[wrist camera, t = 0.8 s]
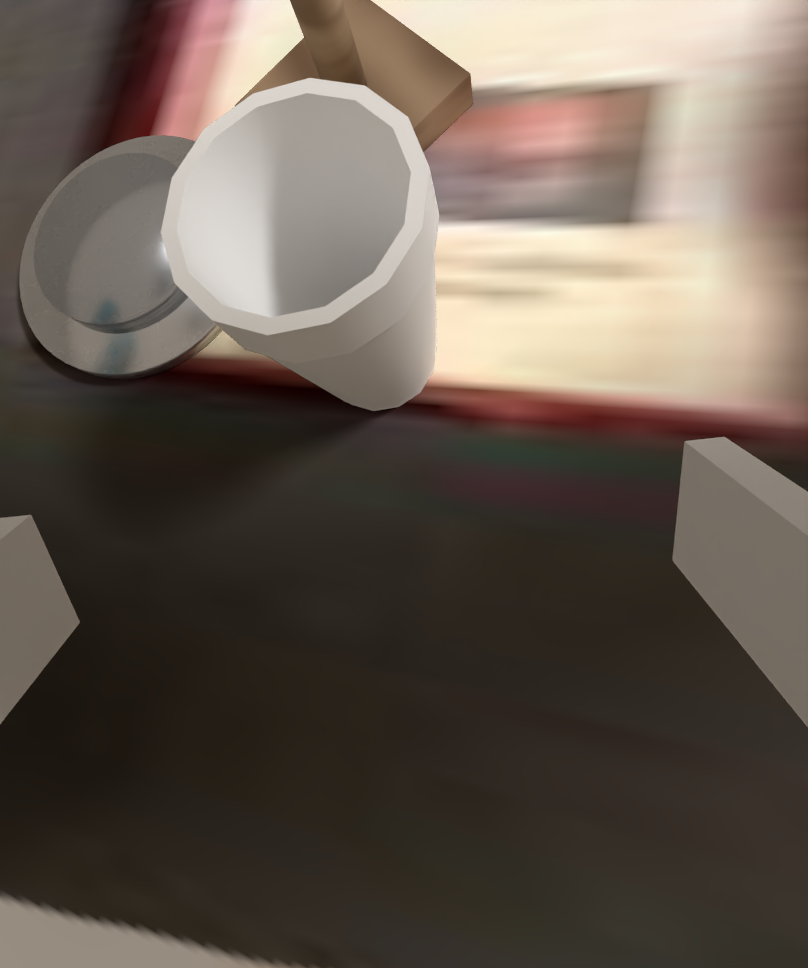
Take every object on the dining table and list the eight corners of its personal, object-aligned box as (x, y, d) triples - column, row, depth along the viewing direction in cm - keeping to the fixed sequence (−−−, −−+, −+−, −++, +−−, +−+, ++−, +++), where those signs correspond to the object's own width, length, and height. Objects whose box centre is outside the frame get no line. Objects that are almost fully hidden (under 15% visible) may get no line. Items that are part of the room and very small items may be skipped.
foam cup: (276, 410, 32) (121, 295, 19) (332, 264, 33) (219, 65, 20) (433, 458, 30) (372, 363, 17) (488, 299, 31) (469, 100, 18)
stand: (363, 20, 36) (289, -253, 24) (473, 103, 33) (449, -159, 21) (249, 131, 36) (121, -87, 24) (349, 222, 33) (260, 27, 22)
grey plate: (188, 102, 37) (165, 69, 35) (305, 276, 33) (288, 251, 31) (-1, 244, 38) (-36, 221, 36) (89, 429, 34) (57, 417, 32)
